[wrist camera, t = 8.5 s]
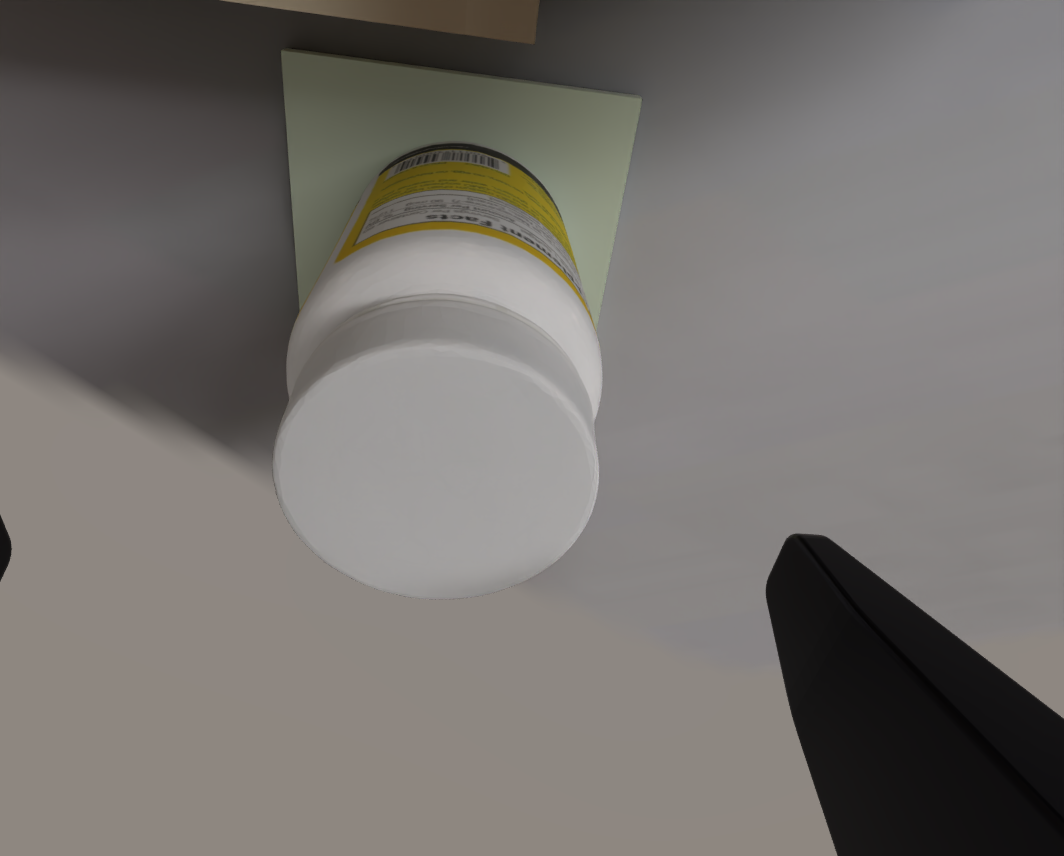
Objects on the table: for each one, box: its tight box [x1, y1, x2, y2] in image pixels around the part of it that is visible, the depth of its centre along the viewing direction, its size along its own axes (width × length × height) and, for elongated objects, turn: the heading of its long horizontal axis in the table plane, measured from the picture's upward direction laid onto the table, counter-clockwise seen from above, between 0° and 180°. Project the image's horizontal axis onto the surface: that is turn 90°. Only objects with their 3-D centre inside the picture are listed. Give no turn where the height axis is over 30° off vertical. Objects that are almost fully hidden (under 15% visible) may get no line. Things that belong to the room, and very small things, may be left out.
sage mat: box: [281, 48, 642, 330], centre depth 15 cm, size 7×7×1 cm
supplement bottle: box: [272, 141, 603, 600], centre depth 12 cm, size 5×5×8 cm
